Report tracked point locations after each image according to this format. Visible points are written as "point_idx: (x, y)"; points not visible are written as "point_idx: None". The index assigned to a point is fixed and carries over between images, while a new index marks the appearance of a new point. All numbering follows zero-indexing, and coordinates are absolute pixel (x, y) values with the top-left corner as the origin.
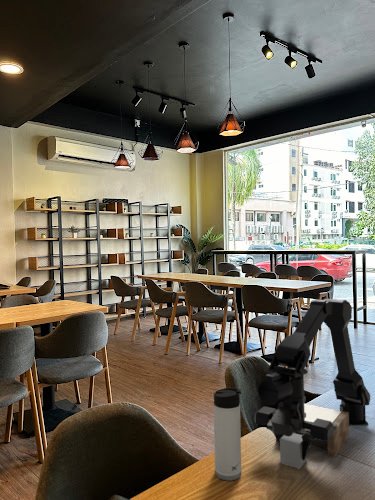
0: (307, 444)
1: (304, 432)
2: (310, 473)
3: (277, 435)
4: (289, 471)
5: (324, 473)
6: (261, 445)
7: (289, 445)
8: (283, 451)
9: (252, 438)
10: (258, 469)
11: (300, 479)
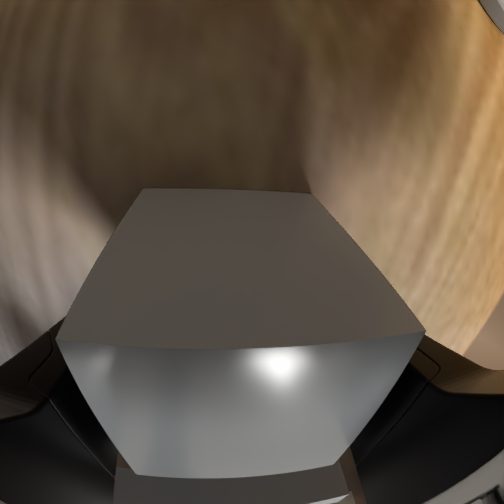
0: (2, 369)
1: (226, 478)
2: (61, 177)
3: (446, 372)
4: (204, 106)
5: (9, 232)
6: (432, 318)
7: (248, 299)
8: (315, 239)
9: (459, 341)
10: (420, 44)
11: (91, 52)
